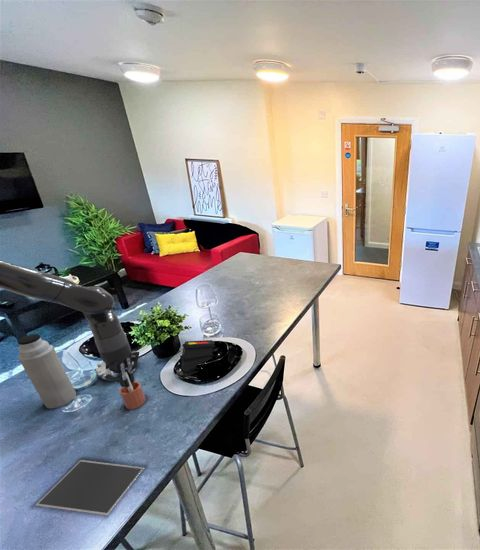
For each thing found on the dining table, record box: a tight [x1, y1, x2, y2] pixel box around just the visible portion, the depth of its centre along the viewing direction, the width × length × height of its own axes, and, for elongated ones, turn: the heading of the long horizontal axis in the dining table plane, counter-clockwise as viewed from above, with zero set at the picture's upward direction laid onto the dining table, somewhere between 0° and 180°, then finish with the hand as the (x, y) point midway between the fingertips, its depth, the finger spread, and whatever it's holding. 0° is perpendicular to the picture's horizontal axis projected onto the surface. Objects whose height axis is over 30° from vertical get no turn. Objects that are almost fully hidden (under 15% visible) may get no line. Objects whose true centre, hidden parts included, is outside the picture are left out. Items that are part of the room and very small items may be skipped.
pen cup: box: [119, 380, 147, 410], centre depth 103 cm, size 6×6×8 cm
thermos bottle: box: [17, 333, 77, 410], centre depth 99 cm, size 8×8×28 cm
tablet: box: [34, 459, 145, 516], centre depth 79 cm, size 12×20×1 cm, turn 85°
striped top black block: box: [179, 339, 216, 378], centre depth 120 cm, size 4×13×15 cm, turn 140°
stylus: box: [125, 372, 134, 392], centre depth 102 cm, size 1×1×14 cm
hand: (128, 384), depth 101 cm, fingers closed on stylus, 1 cm apart
